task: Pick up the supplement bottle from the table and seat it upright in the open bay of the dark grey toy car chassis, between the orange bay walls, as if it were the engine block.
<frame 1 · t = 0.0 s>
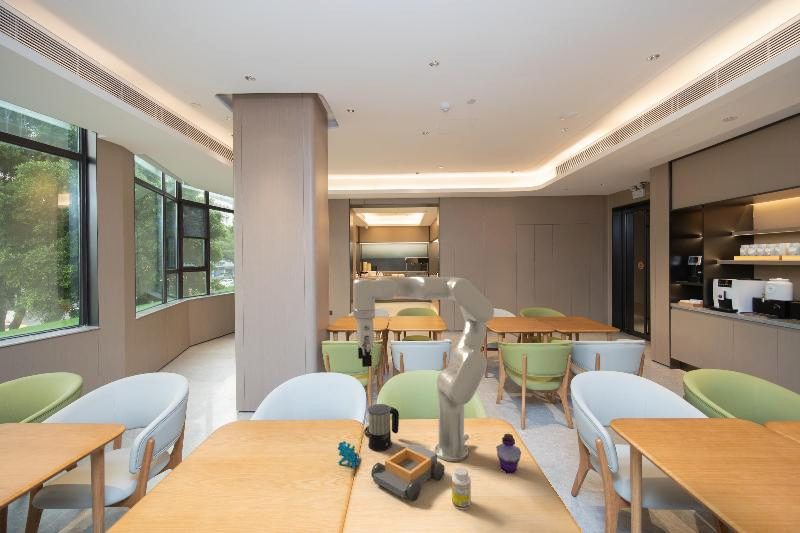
hand: (364, 362, 129), 37 cm above the table, tool pointing down, fingers open, 9 cm apart
gear: (349, 464, 131), on the table
potion bottle: (508, 469, 127), on the table
chassis: (408, 478, 122), on the table
supplement bottle: (461, 504, 110), on the table
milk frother: (376, 441, 148), on the table
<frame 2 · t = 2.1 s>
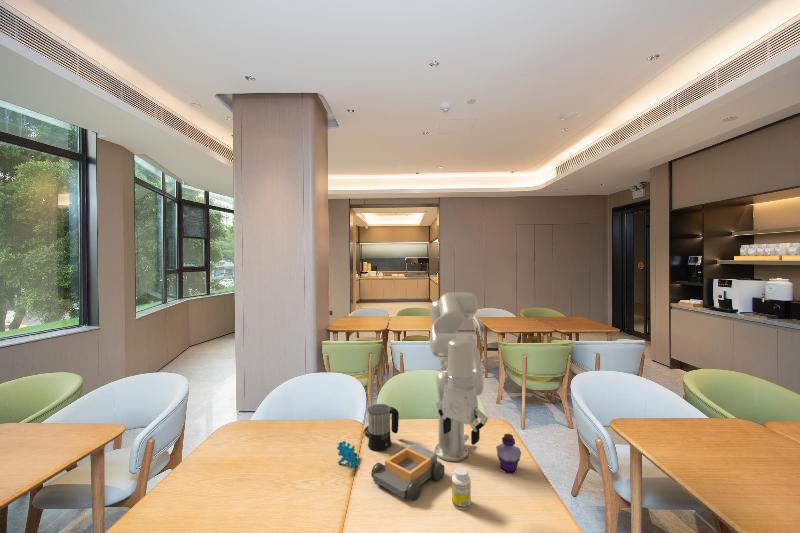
hand: (460, 437, 109), 20 cm above the table, tool pointing down, fingers open, 9 cm apart
nothing on the table moved.
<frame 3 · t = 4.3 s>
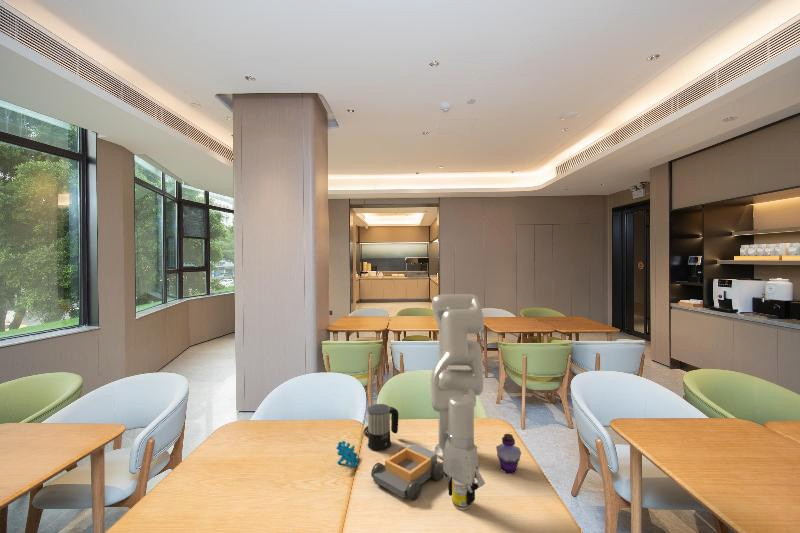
hand: (461, 497, 110), 2 cm above the table, tool pointing down, fingers closed on supplement bottle, 5 cm apart
supplement bottle: (461, 504, 110), on the table, touching gripper
everything else where it was.
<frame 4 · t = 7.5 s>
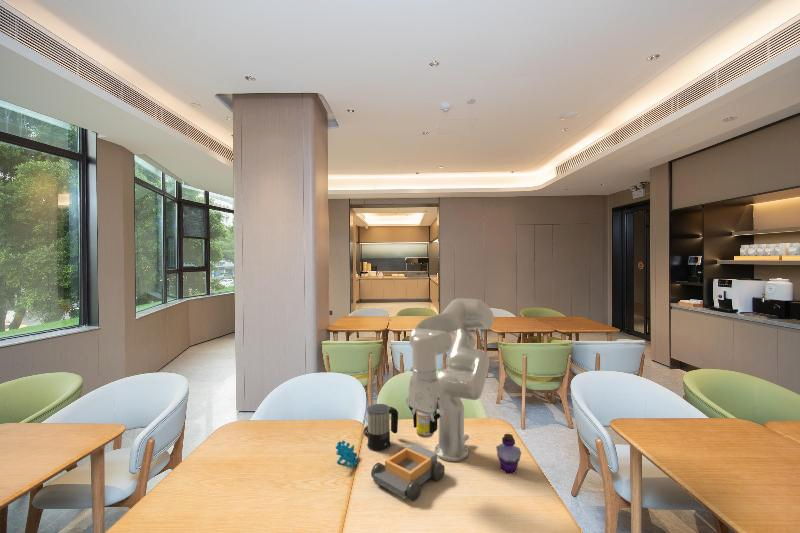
hand: (425, 428, 118), 19 cm above the table, tool pointing down, fingers closed on supplement bottle, 5 cm apart
supplement bottle: (425, 435, 118), point 17 cm above the table, touching gripper
everything else where it was.
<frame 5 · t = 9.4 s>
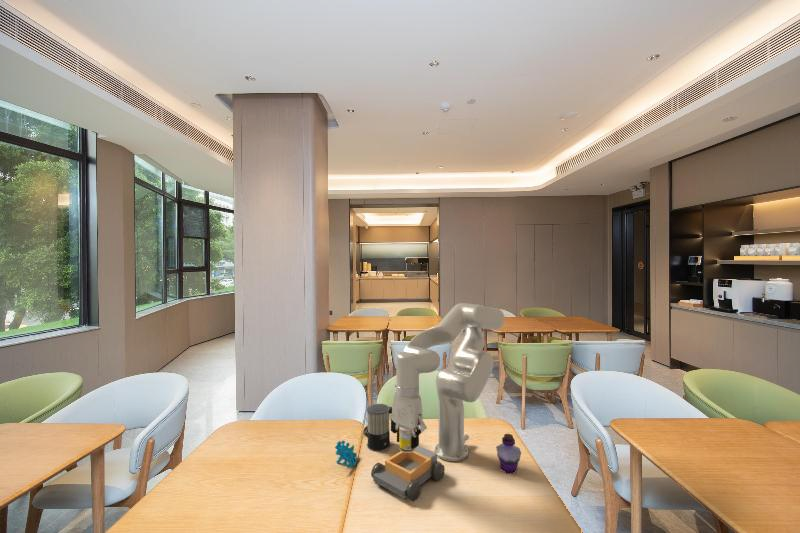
hand: (407, 443, 122), 12 cm above the table, tool pointing down, fingers closed on supplement bottle, 5 cm apart
supplement bottle: (407, 450, 122), point 10 cm above the table, touching gripper
everything else where it was.
when the fingers open (7 cm above the table, at t = 10.8 s): supplement bottle drops 1 cm, resting on chassis.
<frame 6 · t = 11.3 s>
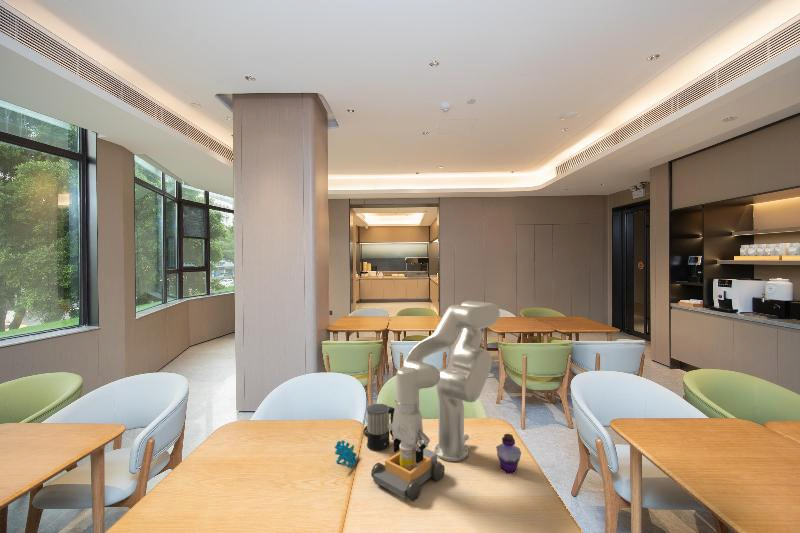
hand: (408, 456, 122), 8 cm above the table, tool pointing down, fingers open, 9 cm apart
supplement bottle: (407, 468, 122), point 3 cm above the table, touching chassis
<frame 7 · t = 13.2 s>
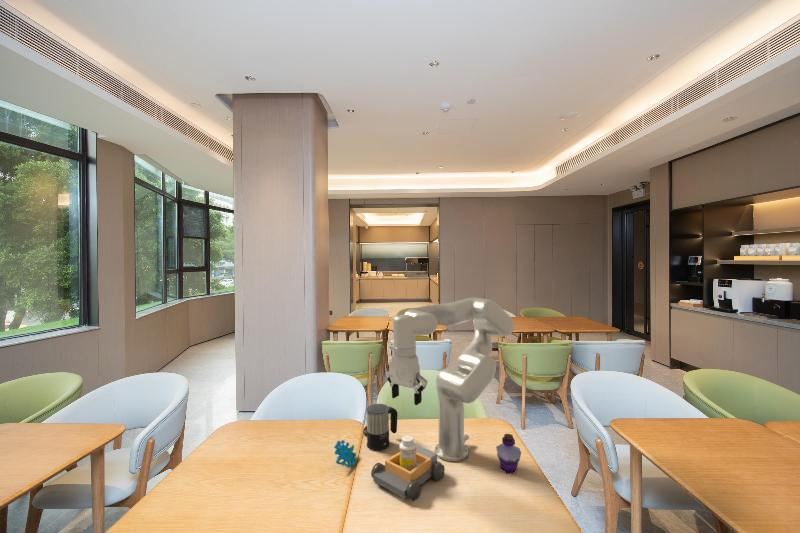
hand: (406, 400, 125), 25 cm above the table, tool pointing down, fingers open, 9 cm apart
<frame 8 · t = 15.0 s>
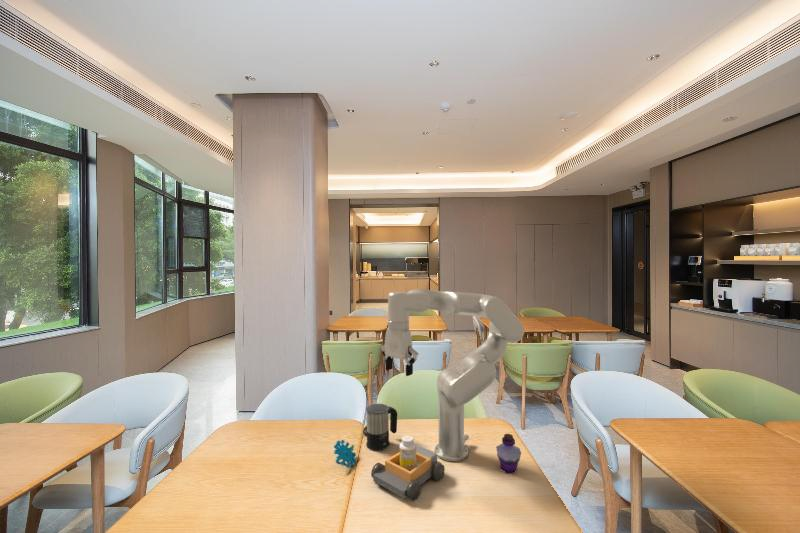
hand: (399, 372, 133), 32 cm above the table, tool pointing down, fingers open, 9 cm apart
at the end: supplement bottle 0.2 cm off-centre on the chassis, point 3.3 cm above the chassis's base; supplement bottle tilted 0°; the gripper is holding nothing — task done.
